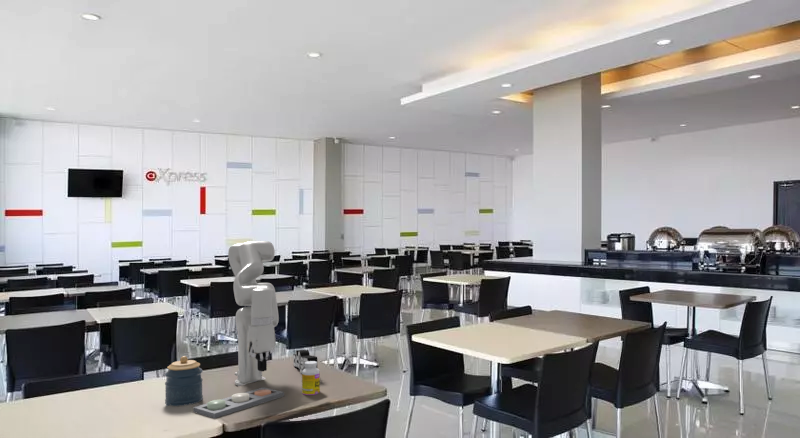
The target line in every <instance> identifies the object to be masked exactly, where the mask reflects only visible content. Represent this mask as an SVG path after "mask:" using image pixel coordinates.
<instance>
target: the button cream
mask: <svg viewBox="0 0 800 438" xmlns="http://www.w3.org/2000/svg"><path fill="white" fill-rule="evenodd" d="M231 396H232V402H235V403H242V402H245V401H248V400H249V394H248V393H245V392H238V393H234V394H232V395H231Z"/></svg>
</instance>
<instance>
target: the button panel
mask: <svg viewBox="0 0 800 438" xmlns="http://www.w3.org/2000/svg"><path fill="white" fill-rule="evenodd" d="M265 389H266V390H271V394H268V395H265V396H262V397H261V396H257V395H254V392H255V391H258V390H265ZM244 393H248V394H249V400H248V401H245V402H242V403H235V402H232V395H231V396H227V397H224V398H220V400H225V401H226V407H225V408H222V409H219V410H216V411H212V410H208V409H207V403H204V404H200V405H197V406H193V408H192V410H193V411H192V412H193V413H196V414H199V415H202V416H205V417H209V418H212V419H217V418H219V417H220V418H221V417H223V416H227V415H230V414H232V413H236V412H238V411H241V410H245V409H247V408H251V407H254V406H258V405H261V404H264V403H267V402H270V401H273V400H276V399H279V398H283V397H285V392H284V391H280V390H277V389H272V388H269V387H260V388H256V389H252V390H249V391H245V392H244Z"/></svg>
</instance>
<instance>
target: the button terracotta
mask: <svg viewBox="0 0 800 438" xmlns="http://www.w3.org/2000/svg"><path fill="white" fill-rule="evenodd" d="M268 394H271V390H266V389H265V390H258V391H255V392H254V395H257V396H261V397H262V396H265V395H268Z"/></svg>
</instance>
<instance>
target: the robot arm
mask: <svg viewBox="0 0 800 438" xmlns="http://www.w3.org/2000/svg"><path fill="white" fill-rule="evenodd" d="M275 251H276V250H275V247H274V245H273V243H272V242H271V241H268V240H263V241H261V240H260V241H259V240H258V241H257V240H255V241H254V240H253V241H246V242H243V243H236V244H232V245H230V246H229V248H228V252H227V254H228V255H227V256H228V261H229V262H228V263H229V265H230V266H229V267H230V268H231V271H232V273H233V274H234V275H233V276H234V281H233V286H232V287H233V294H234V299H235V302H236V304H237V305H238V306H241V308H239V309H237V311H236V313H235V324H236V328H237V347H238V349H237V351H238V353H237V356H238V357H237V358H238V361H237V362H238V364H237V365H238V366H237V368H238V370H237V371H235V372H234V376H237V379H235V380H234V385H236V386H238V387H241V386H245V385H249V384H251V383H252V384H253V383H257V382H260V381H263V380H266V379H267V378H266V377H265V376H263V372H265V371H267V369H268V368H267V366H268V365H267V364H268V362H267V361H268V360H269V356H270V354H273V353H274V352H275V348H276V333H275V332H276V330H275V327H277V326H278V323H279V321H280V320H279V319H280V317H279V309H278V302H277V301H278V300H277V294H276V289H275V287H274V285H273V284H272V283H270V282H257V278H259V277H260V276H261V275H263V274H264V273H263V272H264V269H265V268H264V264H263V263H267V262H271V261H273V260H274V258H275V255H276V254H275V253H276V252H275Z"/></svg>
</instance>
